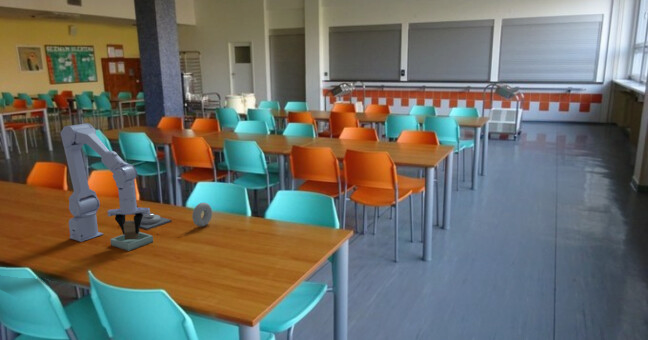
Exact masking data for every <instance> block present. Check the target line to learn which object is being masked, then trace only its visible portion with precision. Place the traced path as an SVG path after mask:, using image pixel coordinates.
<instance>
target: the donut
mask: <svg viewBox="0 0 648 340" xmlns="http://www.w3.org/2000/svg"><path fill="white" fill-rule="evenodd" d="M202 213H203V215H202ZM212 216H213V209H212V207H211V205H210V204H209V203H207V202H200V203H198V204H197V205H196V206H195V208H194V209H193V211H192V220H193V221H192V222H193V223H194V225H196V226H197V227H205V226H207V225H208V224H209V223H210V222H211V220H212V218H213V217H212Z"/></svg>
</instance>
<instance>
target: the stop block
mask: <svg viewBox="0 0 648 340" xmlns="http://www.w3.org/2000/svg"><path fill="white" fill-rule="evenodd" d="M123 226H124V234H123V235H124V236H125V240H129V239H137V237H138V236H139V233H138V234H136V229H135V221H134V219H132V220H125V223H124V224H123Z"/></svg>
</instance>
